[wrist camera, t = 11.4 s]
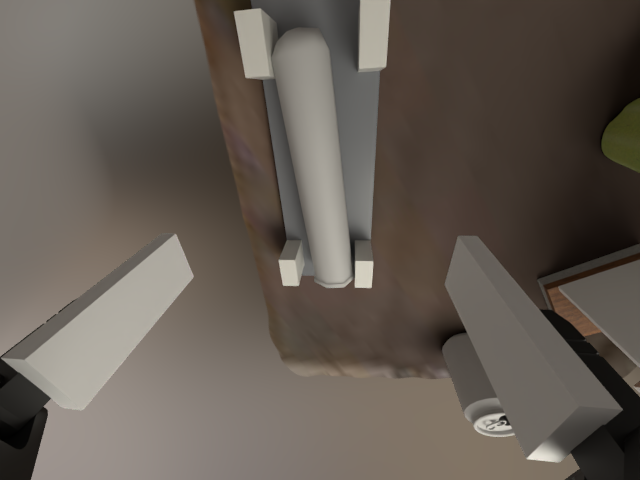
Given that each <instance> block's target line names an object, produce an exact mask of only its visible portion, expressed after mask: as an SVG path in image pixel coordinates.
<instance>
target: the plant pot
mask: <svg viewBox="0 0 640 480" xmlns="http://www.w3.org/2000/svg"><path fill="white" fill-rule="evenodd" d="M601 147H602V151H603V153H604V155H605V156H606V157H608V158H609V159H611V160H612V161H614V162H616V163H619V164H621V165H623V166H625V167H627V168H630V169H632V170H634V171H636V172H639V173H640V98H638V99H636V100H635V101H633V102H631V103H630V104H628V105H627V106H626V107H625V108H624V109H623V111H622V112H621V113H620V114H619V115H618V116H617V117H616V118H615V119H614V120H613V121H611V122H610V123H609V124H608V126H607V127H606V129H605V131H604V133H603V137H602V141H601Z"/></svg>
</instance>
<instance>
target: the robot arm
mask: <svg viewBox="0 0 640 480" xmlns="http://www.w3.org/2000/svg"><path fill="white" fill-rule="evenodd" d="M193 277H194V276H193V273H192V271H191V269H190V266H189V264H188V261H187V259H186V257H185V255H184V252H183V250H182V247H181V245H180V242H179V240H178V238H177V235H176V234H160V235H159V236H158V237H156V238H155V239H154V240H153V241H151V242H150V243H149V244H147V245H146V246H145V247H144V248H142V249H141V250H140V251H138V252H137V253H136V254H135V255H133V256H132V257H131V258H129V259H128V260H127V261H125V262H124V263H123V264H122V265H120V266H119V267H118V268H116V269H115V270H114V271H112V272H111V273H110V274H109V275H107V276H106V277H105V278H103V279H102V280H101V281H100V282H98V283H97V284H96V285H94V286H93V287H92V288H90V289H89V290H88V291H87V292H85V293H84V294H83V295H82V296H80V297H79V298H77V299H76V300H74V301H72V302H71V303H70V304H68V305H67V306H66V307H64V308H63V309H62V310H60V311H59V313H58V314H55V315H54V316H53V317H51V318H50V319H49V320H47V322H46V323H45V324H42V325H41V326H40V327H38V328H37V329H36V330H34V331H33V332H32V333H30V334H29V335H28V336H27V337H25V338H24V339H23V340H21V341H20V342H19V343H18V344H16V345H15V346H14V347H12V348H11V349H10V350H8V351H7V352H6V353H4V354H3V355H2V356H1V357H0V480H31V477H32V473H33V469H34V466H35V462H36V458H37V454H38V451H39V447H40V443H41V439H42V435H43V431H44V428H45V424H46V420H47V416H48V411H47V409H46V408H44V407H43V406H44V405H45V404H46V403H47V402H48V401H49V400H50V399H52V400H53V401H54V402H56V403H57V404H58V405H59V406H60V407H62V408H66V409H75V410H84V408H85V407H86V406H87V405H88V404H89V402H90V401H91V400H92V399H93V398H94V396H95V395H96V394H97V393H98V392H99V390H100V389H101V388H102V387H103V386H104V384H105V383H106V382H107V381H108V380H109V378H110V377H111V376H112V375H113V373H114V372H115V371H116V370H117V369H118V368H119V366H120V365H121V364H122V363H123V361H124V360H125V359H126V358H127V357H128V355H129V354H130V353H131V352H132V351H133V349H134V348H135V347H136V346H137V345H138V343H139V342H140V341H141V340H142V339H143V337H144V336H145V335H146V334H147V332H148V331H149V330H150V329H151V328H152V326H153V325H154V324H155V323H156V321H158V319H159V318H160V317H161V316H162V315H163V313H164V312H165V311H166V310H167V309H168V307H169V306H170V305H171V304H172V302H173V301H174V300H175V299H176V298H177V297H178V295H179V294H180V293H181V292H182V291H183V289H184V288H185V287H186V286H187V284H188V283H189V282H190V281H191V280H192V278H193ZM445 286H446V289H447V291H448V293H449V295H450V297H451V299H452V301H453V304H454V306H455V308H456V310H457V312H458V314H459V316H460V318H461V321H462V323H463V325H464V327H465V329H466V331H467V333H468V336H469V338H470V340H471V342H472V344H473V346H474V348H475V351H476V353H477V355H478V357H479V359H480V361H481V363H482V365H483V368H484V370H485V372H486V374H487V376H488V378H489V380H490V383H491V385H492V387H493V389H494V391H495V393H496V395H497V398H498V400H499V402H500V404H501V406H502V408H503V410H504V412H505V415H506V417H507V419H508V421H509V423H510V425H511V427H512V430H513V432H514V434H515V436H516V438H517V440H518V442H519V444H520V447H521V449H522V451H523V453H524V455H525V457H526V459H532V460H541V461H550V462H560V461H562V460H563V459H564V458H565V457H566V456H568V455H569V454H570V453H571V454H572V456H573V457H574V459H575V461H576V462H577V464H578V466H579V467H580V469H579V470H577V471H576V472H575V473H573V474H572V475H570V476H569V477H568V478H566V479H565V480H640V397H639V396H638V395H637V394H636V393H635V392H634V390H633V389H632V388H631V387H630V386H629V385H628V384H627V383H626V382H625V381H624V380H623V379H622V377H621V376H620V375H619V374H618V373H617V372H616V371H615V370H614V369H613V368H612V367H611V366H610V364H609V363H608V362H607V361H606V360H605V359H604V358H603V357H600V356H599V353H598V352H597V350H596V349H595V348H594V347H593V346H592V345H591V344H590V343H587V342H586V339H585V338H584V336H583V335H582V334H581V333H580V332H579V331H578V330H577V329H576V328H575V327H574V326H573V325H572V324H571V323H570V322H569V321H567V320H566V319H564V318H563V317H561V316H560V315H559V314H557V313H556V312H554V311H553V310H540V309H538V308H537V306H536V305H535V304H534V303H533V302H532V301H531V299H530V298H529V297H528V296H527V295H526V293H525V292H524V291H523V290H522V289H521V287H520V286H519V285H518V284H517V283H516V281H515V280H514V279H513V278H512V277H511V276H510V274H509V273H508V272H507V271H506V270H505V268H504V267H503V266H502V265H501V264H500V262H499V261H498V260H497V259H496V258H495V256H494V255H493V254H492V253H491V252H490V250H489V249H488V248H487V247H486V246H485V245H484V243H483V242H482V241H481V240H480V239H479V237H478V236H458V238H457V242H456V245H455V249H454V252H453V256H452V260H451V263H450V267H449V270H448V274H447V277H446V281H445Z"/></svg>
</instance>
